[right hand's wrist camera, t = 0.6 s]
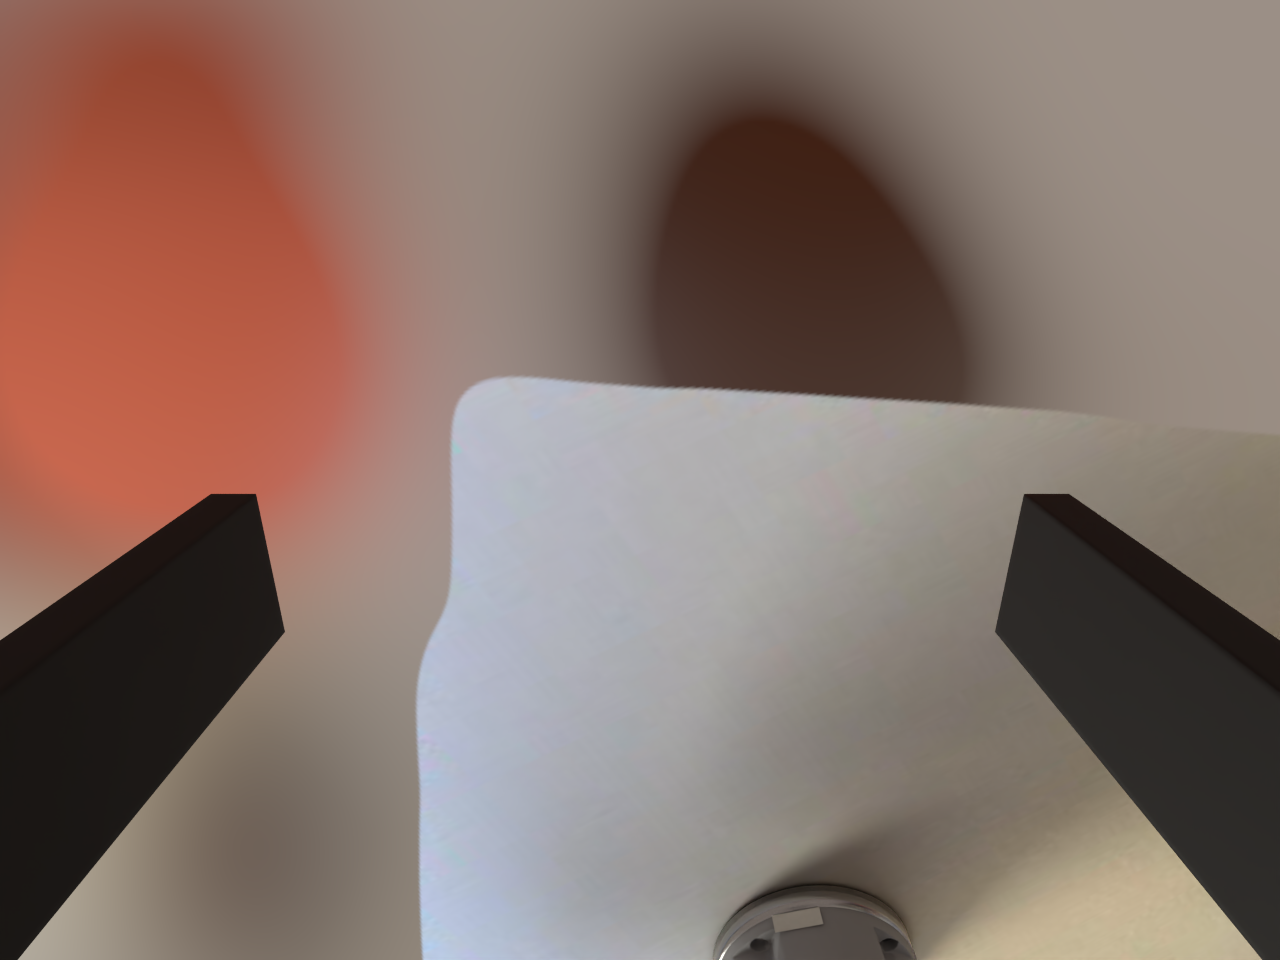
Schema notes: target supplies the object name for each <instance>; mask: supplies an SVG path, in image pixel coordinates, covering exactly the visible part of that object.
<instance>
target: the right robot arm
mask: <svg viewBox="0 0 1280 960" xmlns="http://www.w3.org/2000/svg"><path fill="white" fill-rule="evenodd" d="M284 632H285V630H284V626H283V621H282V616H281V611H280V607H279V602H278V597H277V592H276V587H275V583H274V578H273V573H272V568H271V564H270V559H269V554H268V549H267V545H266V540H265V535H264V530H263V526H262V521H261V516H260V511H259V506H258V502H257V497H256V494H210V495H209V496H208V497H206V498H205V499H203V500H202V501H200V502H199V503H197V504H196V505H195V506H193V507H192V508H190V509H189V510H187V511H186V512H184V513H183V514H182V515H180V516H179V517H177V518H176V519H175V520H173V521H172V522H170V523H169V524H167V525H166V526H164V527H163V528H161V529H160V530H159V531H157V532H156V533H154V534H153V535H151V536H150V537H149V538H147V539H146V540H144V541H143V542H141V543H140V544H138V545H137V546H136V547H134V548H133V549H131V550H130V551H128V552H127V553H125V554H124V555H123V556H121V557H120V558H118V559H117V560H115V561H114V562H112V563H111V564H110V565H108V566H107V567H105V568H104V569H102V570H101V571H100V572H98V573H97V574H95V575H94V576H92V577H91V578H89V579H88V580H87V581H85V582H84V583H82V584H81V585H79V586H78V587H76V588H75V589H74V590H72V591H71V592H69V593H68V594H66V595H65V596H64V597H62V598H61V599H59V600H58V601H56V602H55V603H53V604H52V605H51V606H49V607H48V608H46V609H45V610H43V611H42V612H41V613H39V614H38V615H36V616H35V617H33V618H32V619H30V620H29V621H28V622H26V623H25V624H23V625H22V626H20V627H19V628H17V629H16V630H15V631H13V632H12V633H10V634H9V635H7V636H6V637H5V638H3V639H2V640H0V960H18V959H19V957H20V956H21V955H22V954H23V952H24V951H25V950H26V949H27V947H28V946H29V945H30V944H31V943H32V941H33V940H34V939H35V938H36V936H37V935H38V934H39V933H40V932H41V930H42V929H43V928H44V927H45V925H46V924H47V923H48V922H49V921H50V919H51V918H52V917H53V916H54V914H55V913H56V912H57V911H58V910H59V908H60V907H61V906H62V905H63V903H64V902H65V901H66V900H67V898H68V897H69V896H70V895H71V894H72V892H73V891H74V890H75V889H76V887H77V886H78V885H79V884H80V883H81V881H82V880H83V879H84V878H85V876H86V875H87V874H88V873H89V871H90V870H91V869H92V868H93V867H94V865H95V864H96V863H97V862H98V860H99V859H100V858H101V857H102V856H103V854H104V853H105V852H106V851H107V849H108V848H109V847H110V846H111V845H112V843H113V842H114V841H115V840H116V838H117V837H118V836H119V835H120V833H121V832H122V831H123V830H124V829H125V827H126V826H127V825H128V824H129V822H130V821H131V820H132V819H133V818H134V816H135V815H136V814H137V813H138V811H139V810H140V809H141V808H142V806H143V805H144V804H145V803H146V802H147V800H148V799H149V798H150V797H151V795H152V794H153V793H154V792H155V790H156V789H157V788H158V787H159V786H160V784H161V783H162V782H163V781H164V779H165V778H166V777H167V776H168V775H169V773H170V772H171V771H172V770H173V768H174V767H175V766H176V765H177V764H178V762H179V761H180V760H181V759H182V757H183V756H184V755H185V754H186V753H187V751H188V750H189V749H190V748H191V746H192V745H193V744H194V743H195V741H196V740H197V739H198V738H199V737H200V735H201V734H202V733H203V732H204V730H205V729H206V728H207V727H208V726H209V724H210V723H211V722H212V721H213V719H214V718H215V717H216V716H217V714H218V713H219V712H220V711H221V710H222V708H223V707H224V706H225V705H226V703H227V702H228V701H229V700H230V699H231V697H232V696H233V695H234V694H235V692H236V691H237V690H238V689H239V687H240V686H241V685H242V684H243V683H244V681H245V680H246V679H247V678H248V676H249V675H250V674H251V673H252V671H253V670H254V669H255V668H256V667H257V665H258V664H259V663H260V662H261V660H262V659H263V658H264V657H265V656H266V654H267V653H268V652H269V651H270V649H271V648H272V647H273V646H274V644H275V643H276V642H277V641H278V640H279V638H280V637H281V636H282V635H283V634H284ZM995 632H996V634H997V635H998V636H999V637H1000V638H1001V640H1002V641H1003V642H1004V643H1005V645H1006V646H1007V647H1008V648H1009V649H1010V651H1011V652H1012V653H1013V654H1014V656H1015V657H1016V658H1017V659H1018V660H1019V662H1020V663H1021V664H1022V665H1023V667H1024V668H1025V669H1026V670H1027V672H1028V673H1029V674H1030V675H1031V676H1032V678H1033V679H1034V680H1035V681H1036V683H1037V684H1038V685H1039V686H1040V687H1041V689H1042V690H1043V691H1044V692H1045V694H1046V695H1047V696H1048V697H1049V699H1050V700H1051V701H1052V702H1053V703H1054V705H1055V706H1056V707H1057V708H1058V710H1059V711H1060V712H1061V713H1062V714H1063V716H1064V717H1065V718H1066V719H1067V721H1068V722H1069V723H1070V724H1071V726H1072V727H1073V728H1074V729H1075V730H1076V732H1077V733H1078V734H1079V735H1080V737H1081V738H1082V739H1083V740H1084V741H1085V743H1086V744H1087V745H1088V746H1089V748H1090V749H1091V750H1092V751H1093V753H1094V754H1095V755H1096V756H1097V757H1098V759H1099V760H1100V761H1101V762H1102V764H1103V765H1104V766H1105V767H1106V768H1107V770H1108V771H1109V772H1110V773H1111V775H1112V776H1113V777H1114V778H1115V779H1116V781H1117V782H1118V783H1119V784H1120V786H1121V787H1122V788H1123V789H1124V791H1125V792H1126V793H1127V794H1128V795H1129V797H1130V798H1131V799H1132V800H1133V802H1134V803H1135V804H1136V805H1137V806H1138V808H1139V809H1140V810H1141V811H1142V813H1143V814H1144V815H1145V816H1146V818H1147V819H1148V820H1149V821H1150V822H1151V824H1152V825H1153V826H1154V827H1155V829H1156V830H1157V831H1158V832H1159V833H1160V835H1161V836H1162V837H1163V838H1164V840H1165V841H1166V842H1167V843H1168V845H1169V846H1170V847H1171V848H1172V849H1173V851H1174V852H1175V853H1176V854H1177V856H1178V857H1179V858H1180V859H1181V860H1182V862H1183V863H1184V864H1185V865H1186V867H1187V868H1188V869H1189V870H1190V872H1191V873H1192V874H1193V875H1194V876H1195V878H1196V879H1197V880H1198V881H1199V883H1200V884H1201V885H1202V886H1203V887H1204V889H1205V890H1206V891H1207V892H1208V894H1209V895H1210V896H1211V897H1212V898H1213V900H1214V901H1215V902H1216V903H1217V905H1218V906H1219V907H1220V908H1221V910H1222V911H1223V912H1224V913H1225V914H1226V916H1227V917H1228V918H1229V919H1230V921H1231V922H1232V923H1233V924H1234V925H1235V927H1236V928H1237V929H1238V930H1239V932H1240V933H1241V934H1242V935H1243V937H1244V938H1245V939H1246V940H1247V941H1248V943H1249V944H1250V945H1251V946H1252V948H1253V949H1254V950H1255V951H1256V952H1257V954H1258V955H1259V956H1260V957H1261V959H1262V960H1280V640H1278V639H1277V638H1276V637H1274V636H1273V635H1271V634H1270V633H1268V632H1267V631H1265V630H1264V629H1263V628H1261V627H1260V626H1258V625H1257V624H1255V623H1254V622H1252V621H1251V620H1250V619H1248V618H1247V617H1245V616H1244V615H1242V614H1241V613H1240V612H1238V611H1237V610H1235V609H1234V608H1232V607H1231V606H1229V605H1228V604H1227V603H1225V602H1224V601H1222V600H1221V599H1219V598H1218V597H1216V596H1215V595H1214V594H1212V593H1211V592H1209V591H1208V590H1206V589H1205V588H1204V587H1202V586H1201V585H1199V584H1198V583H1196V582H1195V581H1193V580H1192V579H1191V578H1189V577H1188V576H1186V575H1185V574H1183V573H1182V572H1180V571H1179V570H1178V569H1176V568H1175V567H1173V566H1172V565H1170V564H1169V563H1168V562H1166V561H1165V560H1163V559H1162V558H1160V557H1159V556H1157V555H1156V554H1155V553H1153V552H1152V551H1150V550H1149V549H1147V548H1146V547H1144V546H1143V545H1142V544H1140V543H1139V542H1137V541H1136V540H1134V539H1133V538H1132V537H1130V536H1129V535H1127V534H1126V533H1124V532H1123V531H1121V530H1120V529H1119V528H1117V527H1116V526H1114V525H1113V524H1111V523H1110V522H1108V521H1107V520H1106V519H1104V518H1103V517H1101V516H1100V515H1098V514H1097V513H1096V512H1094V511H1093V510H1091V509H1090V508H1088V507H1087V506H1085V505H1084V504H1083V503H1081V502H1080V501H1078V500H1077V499H1075V498H1074V497H1072V496H1071V495H1070V494H1024V497H1023V502H1022V506H1021V511H1020V516H1019V521H1018V525H1017V530H1016V535H1015V540H1014V545H1013V549H1012V554H1011V559H1010V564H1009V568H1008V573H1007V578H1006V583H1005V587H1004V592H1003V597H1002V602H1001V606H1000V611H999V616H998V621H997V626H996V630H995ZM713 960H916V956H915V953H914V950H913V947H912V944H911V942H910V939H909V936H908V933H907V931H906V928H905V926H904V924H903V922H902V921H901V919H900V918H899V917H898V916H897V914H896V913H895V912H894V911H893V910H892V909H891V908H890V907H888V906H887V905H886V904H884V903H883V902H881V901H880V900H878V899H876V898H875V897H872V896H870V895H868V894H866V893H863V892H860V891H857V890H853V889H850V888H845V887H839V886H830V885H810V886H800V887H794V888H789V889H785V890H781V891H778V892H775V893H772V894H769V895H767V896H764V897H762V898H760V899H758V900H756V901H754V902H752V903H751V904H749V905H747V906H746V907H744V908H743V909H742V910H740V911H739V912H738V913H737V914H736V915H734V916H733V917H732V918H731V919H730V921H729V922H728V923H727V924H726V925H725V927H724V928H723V929H722V931H721V933H720V935H719V936H718V939H717V941H716V944H715V948H714V954H713Z"/></svg>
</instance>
